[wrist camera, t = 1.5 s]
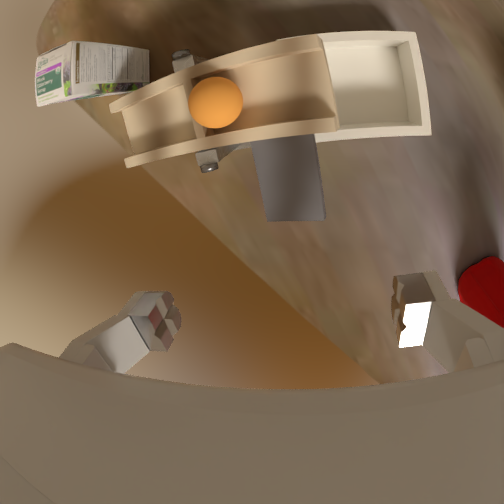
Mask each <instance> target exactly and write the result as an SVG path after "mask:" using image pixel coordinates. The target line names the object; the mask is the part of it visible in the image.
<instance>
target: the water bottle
mask: <svg viewBox="0 0 504 504" xmlns="http://www.w3.org/2000/svg"><path fill="white" fill-rule="evenodd" d="M458 293H459V297H460V302H462V303H463V304H465V305H467V306H468V307H470V308H472V309H473V310H475V311H476V312H478V313H480V314H481V315H483V316H485V317H486V318H488V319H489V320H491V321H493V322H494V323H496V324H497V325H499V326H500V327H502V328H504V262H503V261H502V260H500V259H499V258H497V257H494V256H491V257H487V258H484V259H483V260H482V261H480V262H479V263H478V264H475V265H472V266H470V267H469V268H468V269H467V270H466V271H465V272H464V273H463V274H462V276H461V277H460V279H459V284H458Z"/></svg>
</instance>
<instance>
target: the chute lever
mask: <svg viewBox="0 0 504 504" xmlns="http://www.w3.org/2000/svg"><path fill="white" fill-rule="evenodd" d="M210 77H223V78H226V79H229V80H231V81H232V82H234V83H235V84H236V85H237V86H238V88H239V89H240V91H241V93H242V96H243V107H242V110H241V113H240V115H239V116H238V117H237V119H236V120H235V121H234V122H232V123H231V124H229V125H227V126H225V127H222V128H208V127H205V126H202V125H200V124H199V123H197V122H196V121H195V120H194V119H193V117H192V116H191V114H190V111H189V108H188V99H189V95H190V93H191V91H192V89H193V88H194V87H195V86H196V85H197V84H198V83H199V82H200V81H202V80H204V79H207V78H210ZM109 107H110V111H111V113H115V112H118V111H122V113H123V117H124V121H125V125H126V128H127V132H128V135H129V139H130V142H131V146H132V149H133V153H134V155H132V156H130V157H128V158H125V159H124V160H125V164H126V167H127V168H130V167H133V166H137V165H141V164H144V163H148V162H152V161H156V160H160V159H164V158H168V157H173V156H177V155H182V154H186V153H191V152H195V151H200V150H205V149H210V148H216V147H221V146H227V145H232V144H238V143H244V142H250V143H251V148H252V152H253V157H254V161H255V166H256V170H257V175H258V180H259V184H260V189H261V194H262V198H263V203H264V208H265V213H266V217H267V221H324V220H325V218H326V212H325V203H324V195H323V188H322V180H321V173H320V166H319V159H318V153H317V147H316V141H315V135H314V134H316V133H328V132H336V131H337V130H338V129H339V128H340V125H339V119H338V113H337V107H336V101H335V96H334V90H333V85H332V80H331V75H330V71H329V66H328V61H327V57H326V53H325V49H324V44H323V40H322V39H321V38H320V37H319V36H318V35H317V34H311V35H305V36H300V37H294V38H289V39H284V40H279V41H275V42H270V43H266V44H262V45H258V46H254V47H250V48H246V49H243V50H239V51H236V52H232V53H229V54H226V55H223V56H220V57H217V58H214V59H211V60H208V61H205V62H202V63H199V64H196V65H194V66H191V67H188V68H186V69H183V70H181V71H178V72H176V73H173V74H171V75H168V76H166V77H164V78H161V79H159V80H157V81H155V82H152V83H150V84H148V85H146V86H144V87H142V88H140V89H138V90H136V91H134V92H132V93H130V94H128V95H126V96H124V97H122V98H120V99H118V100H116V101H114V102H112V103H111V104H109Z"/></svg>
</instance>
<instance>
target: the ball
mask: <svg viewBox="0 0 504 504" xmlns="http://www.w3.org/2000/svg"><path fill="white" fill-rule="evenodd" d="M242 107H243V96H242V93H241V91H240V89H239V88H238V86H237V85H236V84H235V83H234V82H232V81H231V80H229V79H226V78H223V77H210V78H207V79H204V80H202V81H200V82H199V83H198V84H197V85H196V86H195V87H194V88H193V89H192V91H191V93H190V95H189V99H188V108H189V111H190V114H191V116H192V117H193V119H194V120H195V121H196V122H197V123H199V124H200V125H202V126H205V127H208V128H222V127H225V126H227V125H229V124H231V123H232V122H234V121H235V120H236V119H237V117H238V116H239V115H240V113H241V110H242Z"/></svg>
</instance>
